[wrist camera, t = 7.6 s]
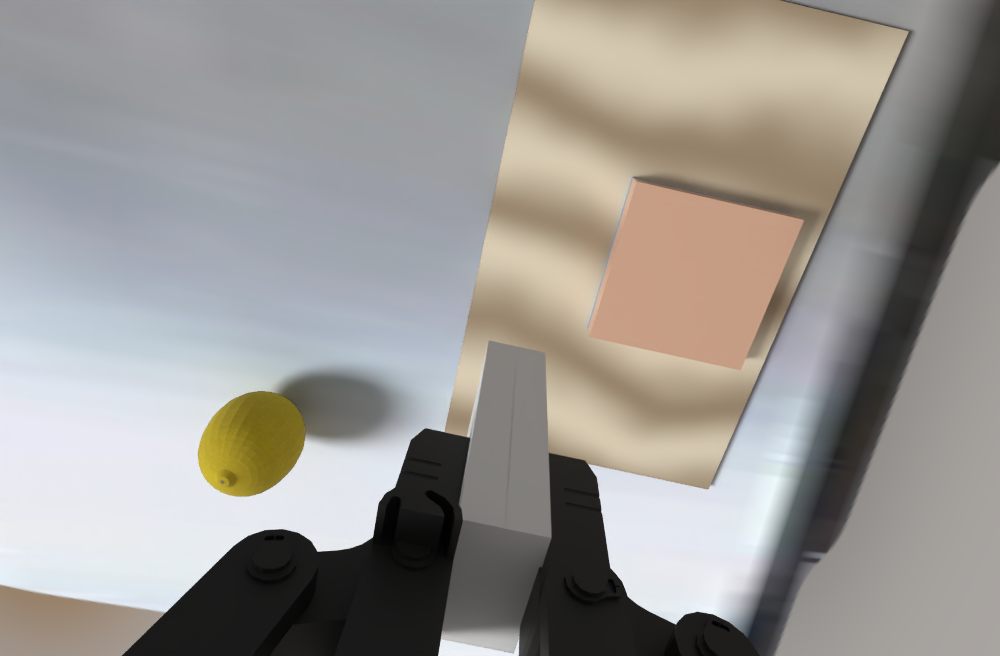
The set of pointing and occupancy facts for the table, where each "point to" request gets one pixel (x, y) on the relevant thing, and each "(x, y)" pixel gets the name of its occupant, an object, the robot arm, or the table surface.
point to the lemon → (251, 443)
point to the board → (667, 160)
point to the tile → (691, 273)
